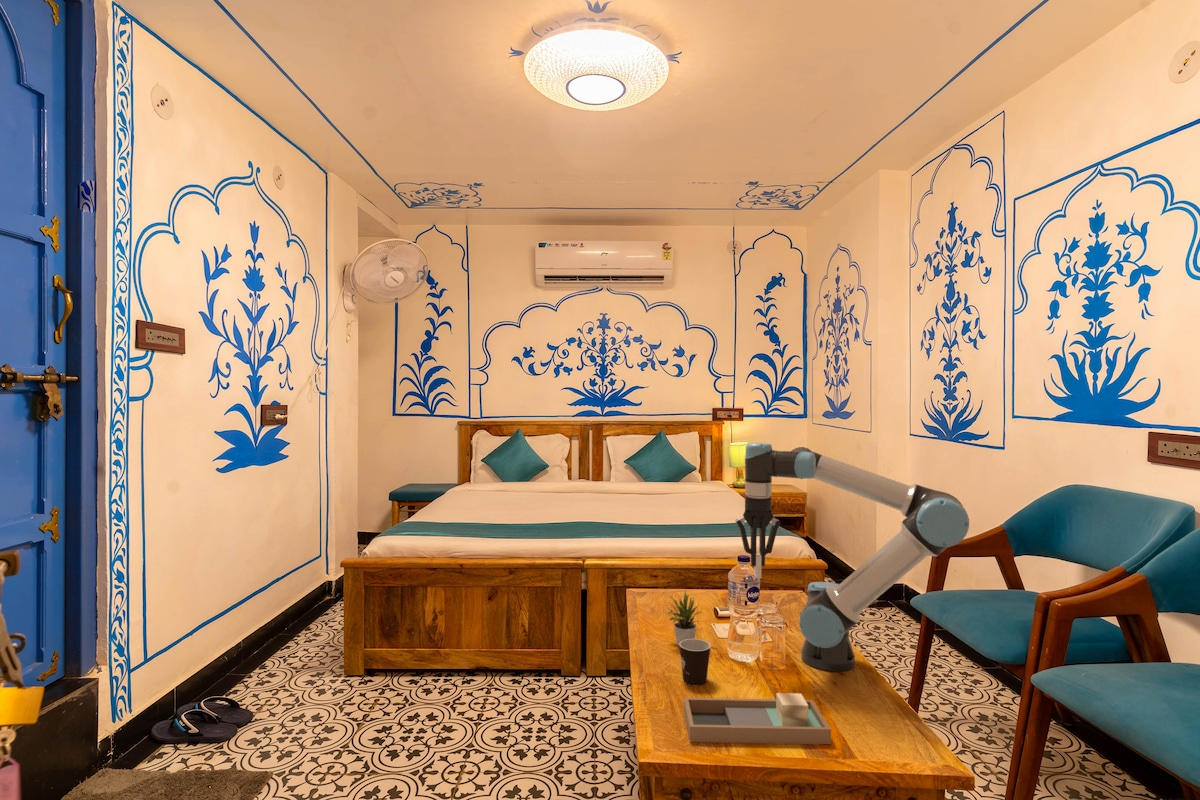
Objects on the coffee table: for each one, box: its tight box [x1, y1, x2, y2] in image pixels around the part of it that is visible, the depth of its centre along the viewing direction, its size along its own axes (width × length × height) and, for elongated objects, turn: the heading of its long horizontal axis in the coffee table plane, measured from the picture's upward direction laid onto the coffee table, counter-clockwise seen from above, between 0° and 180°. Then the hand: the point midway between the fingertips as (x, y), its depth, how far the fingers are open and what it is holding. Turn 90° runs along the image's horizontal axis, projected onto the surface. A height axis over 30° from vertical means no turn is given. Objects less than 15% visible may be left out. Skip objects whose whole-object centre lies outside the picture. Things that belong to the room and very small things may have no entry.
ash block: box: [775, 692, 808, 727], centre depth 153 cm, size 6×6×5 cm
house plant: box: [664, 591, 704, 648], centre depth 205 cm, size 14×14×16 cm
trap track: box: [683, 697, 832, 745], centre depth 154 cm, size 32×14×4 cm, turn 88°
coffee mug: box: [678, 638, 711, 686], centre depth 180 cm, size 12×9×10 cm
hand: (757, 576), depth 187 cm, fingers closed
